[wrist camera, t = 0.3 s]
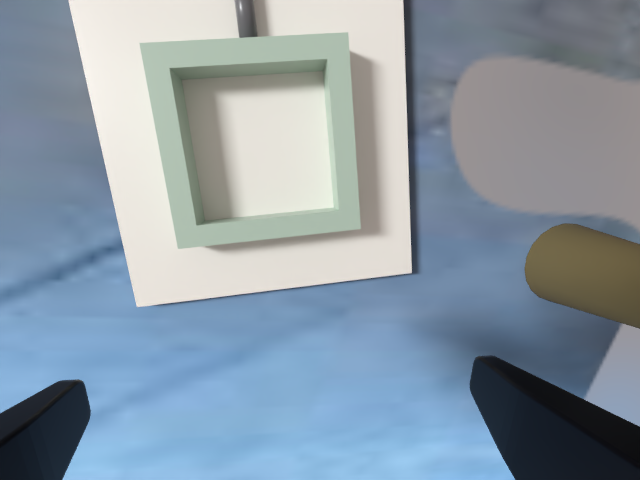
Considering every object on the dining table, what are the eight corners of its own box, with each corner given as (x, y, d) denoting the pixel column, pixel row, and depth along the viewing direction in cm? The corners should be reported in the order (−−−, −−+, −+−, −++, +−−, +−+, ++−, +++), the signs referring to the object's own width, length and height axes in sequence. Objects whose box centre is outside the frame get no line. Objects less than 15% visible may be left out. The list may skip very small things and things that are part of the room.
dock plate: (407, 269, 23) (424, 282, 20) (142, 302, 21) (121, 321, 18) (397, -32, 19) (416, -67, 16) (71, -21, 17) (31, -58, 14)
